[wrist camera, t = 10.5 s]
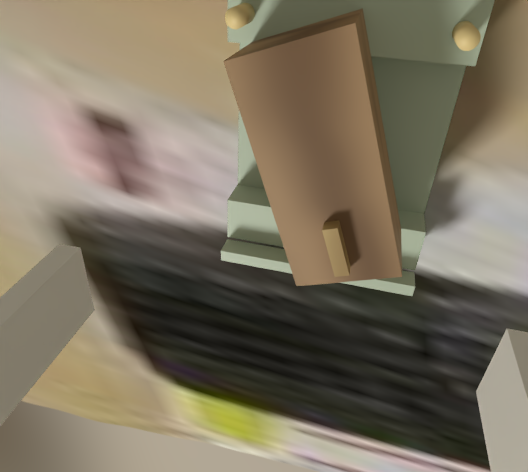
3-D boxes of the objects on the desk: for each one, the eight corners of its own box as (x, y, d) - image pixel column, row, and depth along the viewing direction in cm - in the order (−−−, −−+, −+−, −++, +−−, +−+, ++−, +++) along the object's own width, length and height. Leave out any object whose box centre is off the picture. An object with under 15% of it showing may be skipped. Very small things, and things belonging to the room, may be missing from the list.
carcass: (239, 232, 35) (218, 269, 31) (244, -56, 25) (214, -55, 21) (408, 262, 33) (410, 306, 29) (494, -41, 22) (515, -37, 18)
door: (309, 240, 30) (293, 294, 26) (252, 41, 24) (217, 65, 20) (401, 229, 28) (402, 286, 24) (362, 8, 22) (353, 25, 18)
